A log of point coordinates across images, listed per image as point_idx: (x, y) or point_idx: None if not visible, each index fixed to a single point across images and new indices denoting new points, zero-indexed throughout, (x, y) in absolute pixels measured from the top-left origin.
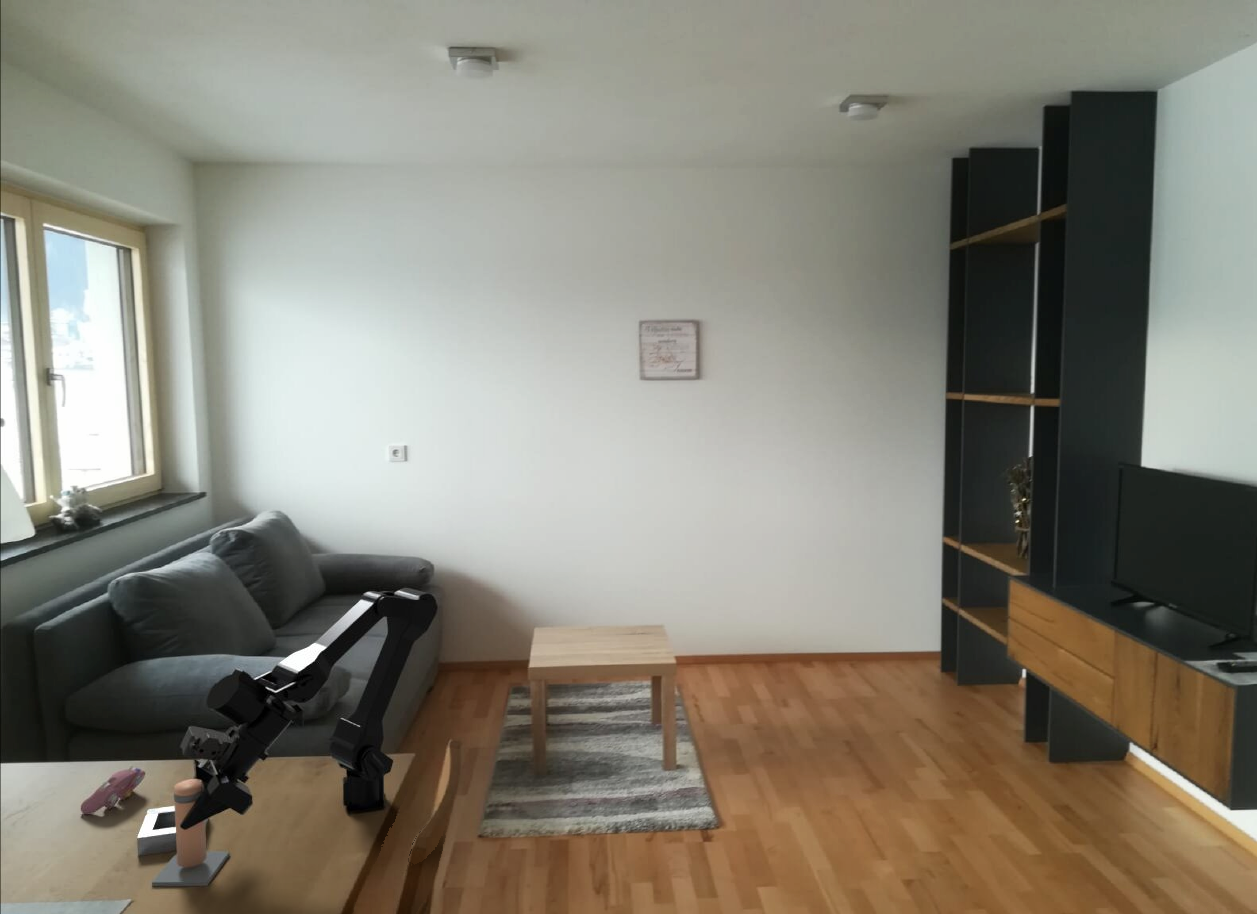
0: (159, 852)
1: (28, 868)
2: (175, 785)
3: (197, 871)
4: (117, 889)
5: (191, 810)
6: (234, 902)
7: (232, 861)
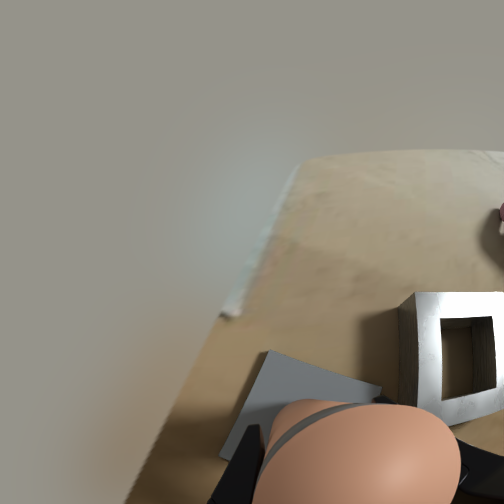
0: (399, 347)
1: (385, 165)
2: (412, 408)
3: None
4: (284, 287)
5: (228, 485)
6: (140, 482)
7: None
